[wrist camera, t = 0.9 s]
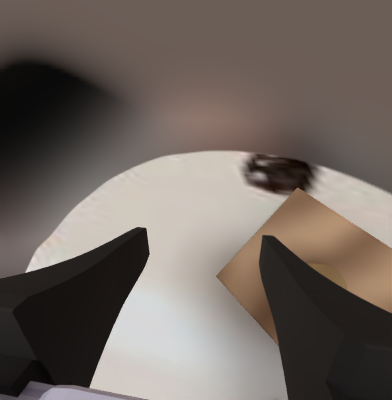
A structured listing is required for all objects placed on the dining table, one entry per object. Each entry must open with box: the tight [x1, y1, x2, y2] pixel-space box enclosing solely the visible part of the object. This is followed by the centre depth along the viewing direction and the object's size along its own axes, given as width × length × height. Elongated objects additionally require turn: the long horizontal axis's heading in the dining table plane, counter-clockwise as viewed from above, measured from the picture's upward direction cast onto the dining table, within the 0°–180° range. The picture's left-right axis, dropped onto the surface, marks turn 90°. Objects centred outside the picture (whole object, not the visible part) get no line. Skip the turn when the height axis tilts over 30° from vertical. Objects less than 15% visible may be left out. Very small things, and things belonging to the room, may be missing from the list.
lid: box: [216, 188, 392, 346], centre depth 16 cm, size 13×13×4 cm
